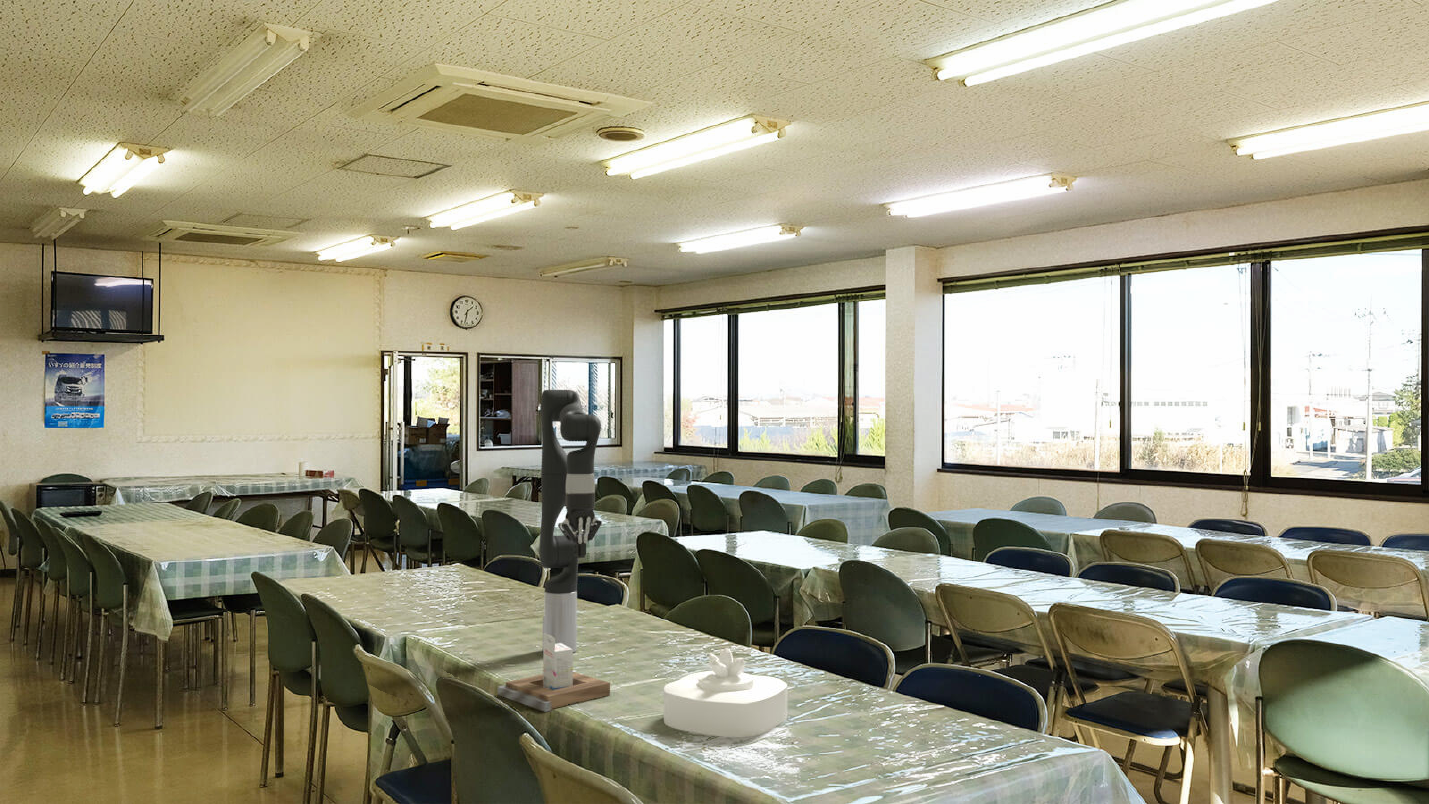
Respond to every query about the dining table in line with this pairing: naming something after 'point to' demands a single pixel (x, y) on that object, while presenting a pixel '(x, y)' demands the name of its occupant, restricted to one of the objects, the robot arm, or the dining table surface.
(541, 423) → the robot arm
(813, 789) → the dining table surface
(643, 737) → the dining table surface
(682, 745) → the dining table surface
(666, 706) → the tissue box
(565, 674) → the ink box
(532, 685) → the frame
